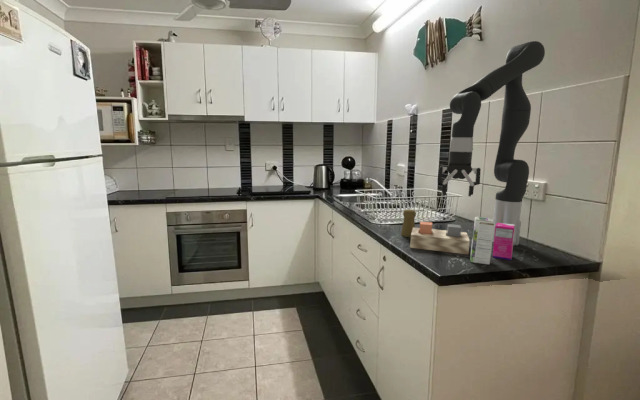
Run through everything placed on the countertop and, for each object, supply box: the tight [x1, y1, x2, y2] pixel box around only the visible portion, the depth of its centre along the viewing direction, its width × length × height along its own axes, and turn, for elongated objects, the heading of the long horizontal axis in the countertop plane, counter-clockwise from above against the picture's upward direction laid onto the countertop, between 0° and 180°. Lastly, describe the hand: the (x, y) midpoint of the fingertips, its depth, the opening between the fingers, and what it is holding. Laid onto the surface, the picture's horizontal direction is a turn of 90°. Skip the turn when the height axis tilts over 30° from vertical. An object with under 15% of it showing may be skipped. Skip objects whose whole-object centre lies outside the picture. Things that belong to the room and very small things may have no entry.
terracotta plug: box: [419, 221, 433, 234], centre depth 126 cm, size 4×4×5 cm
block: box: [409, 226, 471, 255], centre depth 125 cm, size 20×12×5 cm, turn 71°
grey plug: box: [446, 223, 462, 237], centre depth 123 cm, size 4×4×5 cm
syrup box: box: [469, 216, 495, 265], centre depth 109 cm, size 6×6×14 cm
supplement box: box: [492, 223, 515, 261], centre depth 114 cm, size 6×6×12 cm
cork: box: [400, 208, 417, 238], centre depth 140 cm, size 6×6×11 cm
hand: (456, 195), depth 121 cm, fingers open, 8 cm apart
